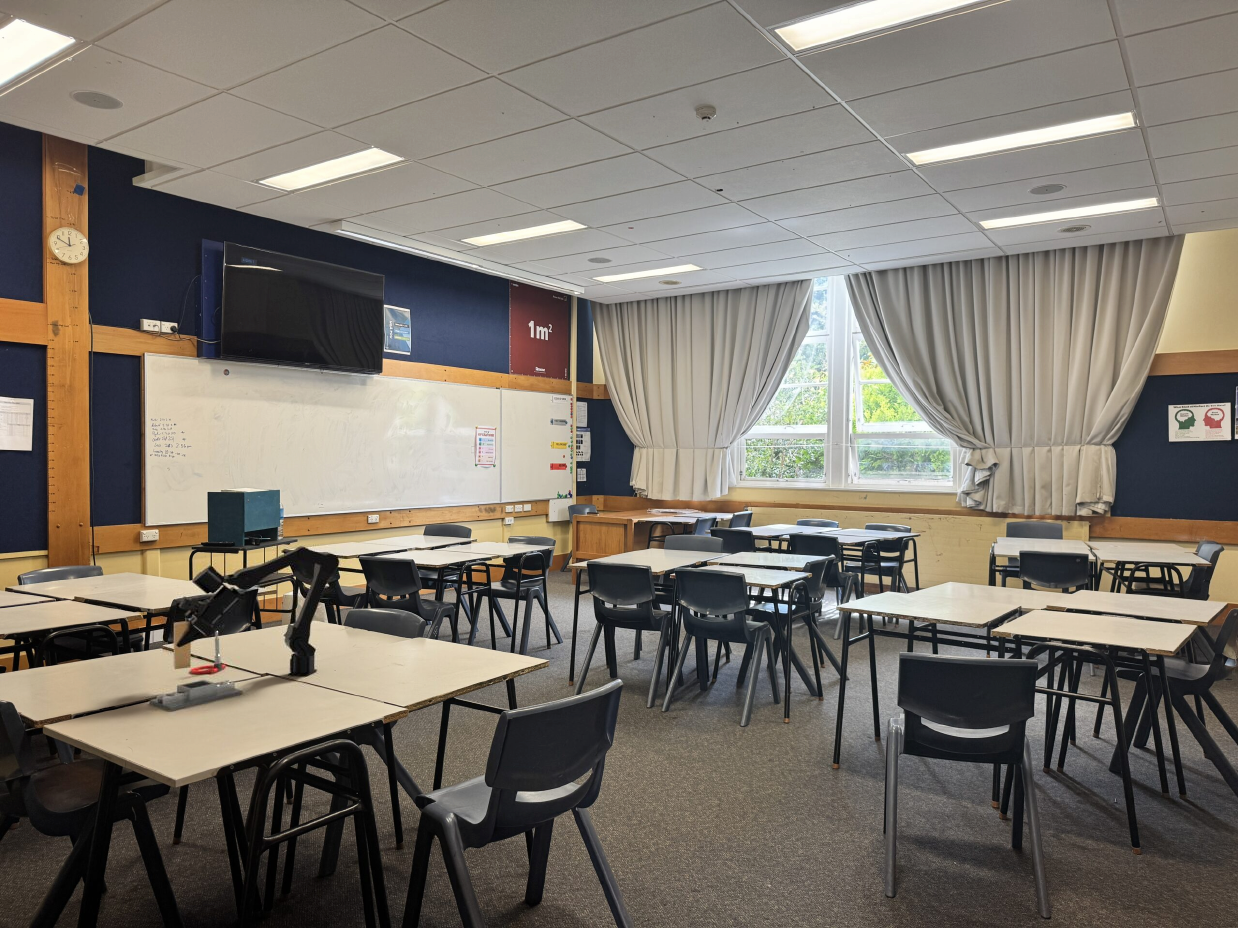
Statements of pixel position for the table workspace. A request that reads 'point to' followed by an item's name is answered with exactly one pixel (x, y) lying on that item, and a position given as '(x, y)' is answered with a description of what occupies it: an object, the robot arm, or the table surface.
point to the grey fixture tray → (195, 694)
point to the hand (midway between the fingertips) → (176, 645)
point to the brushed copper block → (181, 653)
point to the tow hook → (216, 666)
